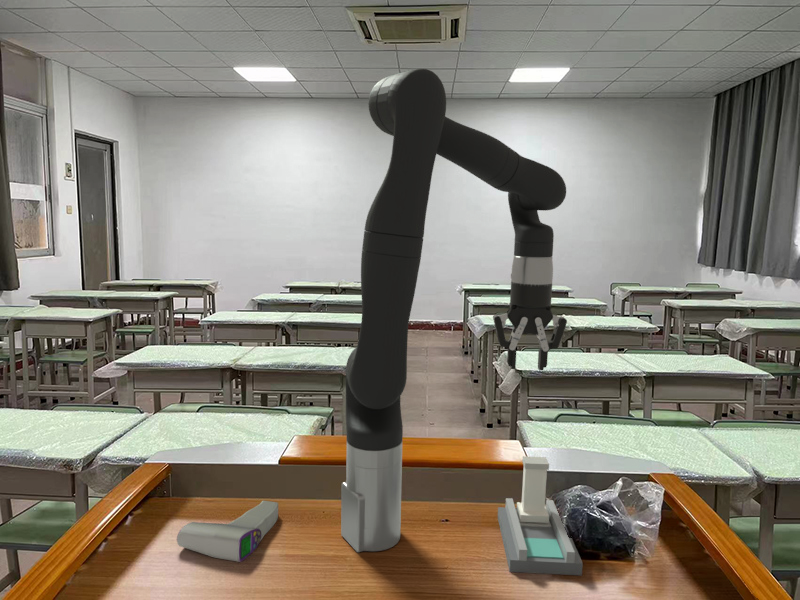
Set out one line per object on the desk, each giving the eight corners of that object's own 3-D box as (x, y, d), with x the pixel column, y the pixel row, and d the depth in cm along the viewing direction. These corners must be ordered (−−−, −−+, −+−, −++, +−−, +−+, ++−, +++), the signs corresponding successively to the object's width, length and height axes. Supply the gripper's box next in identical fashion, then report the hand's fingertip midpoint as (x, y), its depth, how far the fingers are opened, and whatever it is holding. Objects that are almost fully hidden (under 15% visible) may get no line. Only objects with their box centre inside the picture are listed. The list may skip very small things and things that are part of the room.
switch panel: (581, 575, 88) (583, 552, 88) (509, 571, 89) (510, 549, 88) (558, 520, 104) (560, 500, 104) (497, 517, 105) (498, 497, 104)
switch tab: (548, 522, 98) (552, 466, 97) (520, 521, 98) (523, 465, 97) (543, 509, 103) (547, 455, 101) (516, 508, 103) (519, 454, 101)
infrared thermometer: (283, 522, 104) (244, 567, 89) (222, 513, 106) (174, 555, 92) (284, 498, 103) (244, 538, 89) (222, 489, 106) (174, 527, 91)
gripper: (495, 281, 104) (491, 373, 107) (575, 283, 104) (569, 375, 106) (491, 277, 112) (487, 362, 114) (565, 279, 111) (560, 365, 114)
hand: (526, 368), depth 110 cm, fingers open, 4 cm apart
